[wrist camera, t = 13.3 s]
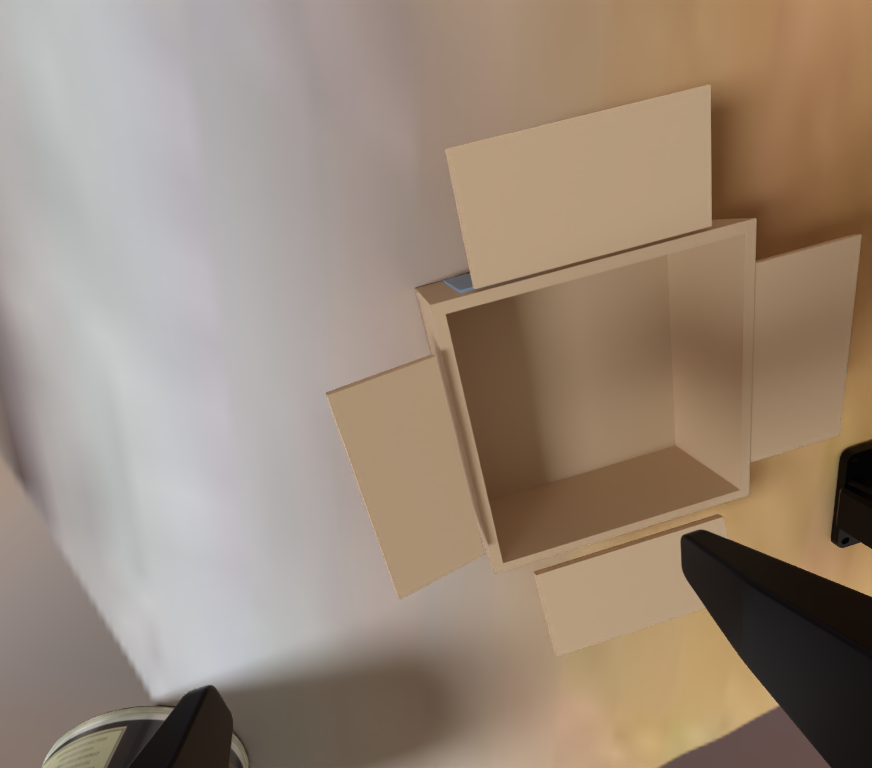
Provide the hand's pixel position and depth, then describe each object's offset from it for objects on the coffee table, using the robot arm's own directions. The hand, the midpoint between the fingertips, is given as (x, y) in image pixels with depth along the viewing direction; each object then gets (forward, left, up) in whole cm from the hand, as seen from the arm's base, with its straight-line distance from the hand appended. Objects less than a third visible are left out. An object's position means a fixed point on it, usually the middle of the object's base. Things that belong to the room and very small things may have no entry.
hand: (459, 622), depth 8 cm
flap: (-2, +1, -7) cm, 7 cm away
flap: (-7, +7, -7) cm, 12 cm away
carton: (-9, -1, -12) cm, 15 cm away
